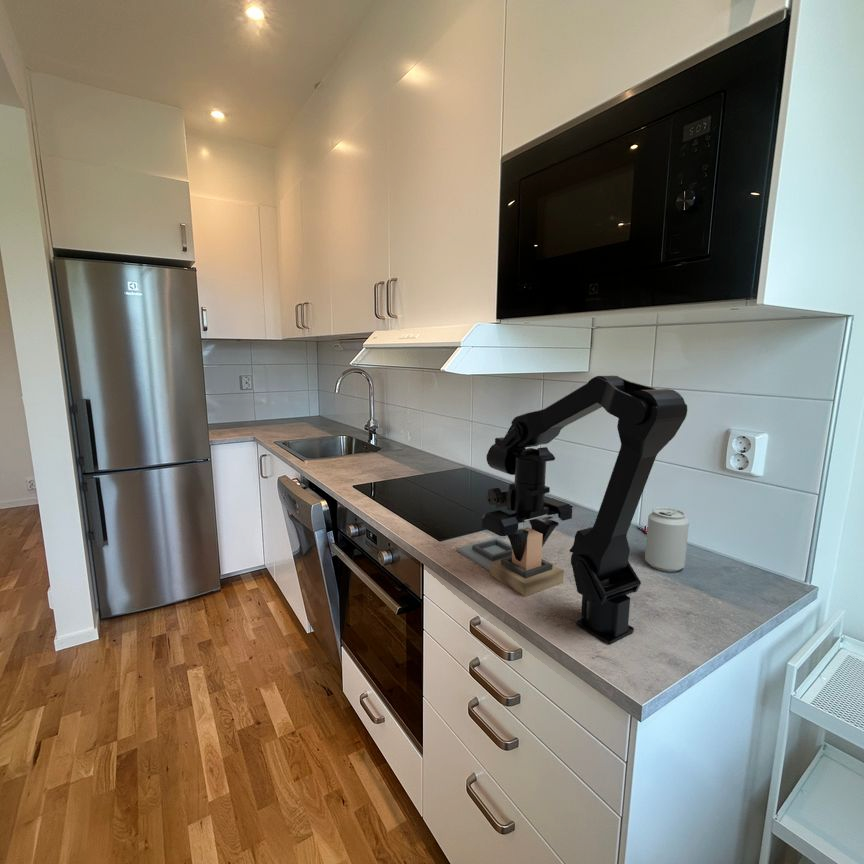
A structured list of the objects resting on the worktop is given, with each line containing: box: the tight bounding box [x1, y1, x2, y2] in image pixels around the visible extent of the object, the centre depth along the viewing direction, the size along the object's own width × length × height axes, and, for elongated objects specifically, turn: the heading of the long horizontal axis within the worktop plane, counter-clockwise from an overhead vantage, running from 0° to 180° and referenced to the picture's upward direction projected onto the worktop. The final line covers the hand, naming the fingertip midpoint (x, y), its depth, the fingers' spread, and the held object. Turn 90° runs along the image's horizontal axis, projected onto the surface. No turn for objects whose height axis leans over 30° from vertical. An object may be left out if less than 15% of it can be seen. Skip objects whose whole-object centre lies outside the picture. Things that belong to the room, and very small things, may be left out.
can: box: [644, 506, 690, 573], centre depth 95 cm, size 8×8×12 cm
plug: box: [512, 527, 543, 571], centre depth 89 cm, size 4×4×7 cm
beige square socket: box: [489, 556, 565, 597], centre depth 89 cm, size 10×10×4 cm
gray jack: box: [456, 537, 512, 572], centre depth 100 cm, size 12×12×2 cm
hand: (526, 557), depth 89 cm, fingers closed on plug, 4 cm apart
